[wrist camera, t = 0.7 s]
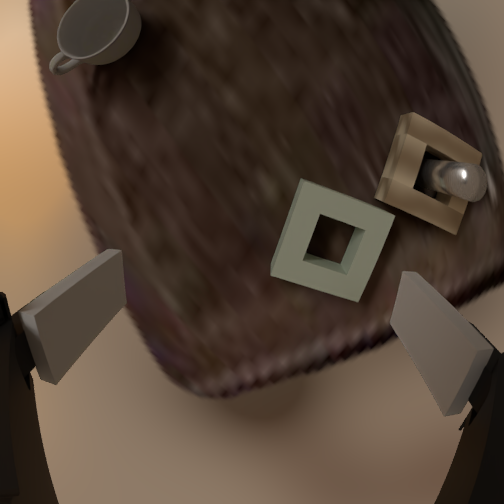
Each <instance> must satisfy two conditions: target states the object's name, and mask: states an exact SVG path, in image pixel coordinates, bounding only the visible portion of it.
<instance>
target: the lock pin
mask: <svg viewBox="0 0 504 504" xmlns="http://www.w3.org/2000/svg"><path fill="white" fill-rule="evenodd" d="M415 183H416V184H417V185H418V186H420V187H422V188H426V189H430V190H433V191H437V192H441V193H444V194H448V195H451V196H455V197H458V198H461V199H464V200H468V201H471V202H476V201H479V200H480V199H481V198H482V197H483V196H484V194H485V192H486V188H487V178H486V174H485V172H484V170H483V169H482V168H481V167H480V166H479V165H477V164H473V163H464V162H454V161H444V160H432V159H422V162H421V165H420V168H419V171H418V174H417V177H416V180H415Z"/></svg>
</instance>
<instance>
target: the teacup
mask: <svg viewBox="0 0 504 504" xmlns="http://www.w3.org/2000/svg"><path fill="white" fill-rule="evenodd" d="M140 31H141V17H140V14H139V12H138V10H137V8H136V7H135V6H134V5H133V3H132V2H131V1H130V0H76V1H75V2H74V3H73V4H72V5H71V6H70V8H69V9H68V10H67V11H66V13H65V14H64V16H63V17H62V19H61V22H60V24H59V27H58V32H57V41H58V45H59V48H60V50H61V52H60V53H58V54H57V55H55V56H54V57H53V59H52V60H51V62H50V65H49V68H50V71H51V72H52V73H53V74H55V75H62V74H65V73H67V72H69V71H70V70H72V69H74V68H75V67H76V66H78V65H79V64H82V63H84V62H85V63H88V64H93V65H104V64H108V63H111V62H114V61H116V60H118V59H119V58H121V57H122V56H124V55H125V54H126V53H127V52H128V51H129V50H130V49H131V48H132V47H133V46H134V44H135V43H136V41H137V39H138V37H139V34H140ZM68 58H71V59H72V60H71V61H69V62H68V63H66V64H64V65H62V66H59V67H57V66H58V65H59V64H60V63H61V62H62V61H63V60H65V59H68Z"/></svg>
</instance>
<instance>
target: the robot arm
mask: <svg viewBox="0 0 504 504" xmlns="http://www.w3.org/2000/svg"><path fill="white" fill-rule="evenodd" d="M126 303H127V302H126V293H125V284H124V273H123V261H122V250H115V249H107V250H106V251H104V252H103V253H101V254H99V255H98V256H96V257H95V258H94V259H92V260H90V261H89V262H87V263H86V264H85V265H83V266H81V267H80V268H78V269H77V270H75V271H74V272H72V273H71V274H70V275H68V276H67V277H65V278H64V279H62V280H61V281H59V282H58V283H57V284H55V285H54V286H52V287H51V288H50V289H48V290H47V291H45V292H43V293H42V294H40V295H39V296H37V297H36V299H33V300H32V301H31V302H30V303H29V304H27V305H25V306H24V307H23V308H21V309H20V310H18V311H17V312H16V313H15V314H13V315H12V316H11V313H10V310H9V306H8V302H7V298H6V294H4V293H3V292H0V504H59V503H58V500H57V497H56V494H55V490H54V487H53V484H52V480H51V477H50V473H49V469H48V465H47V461H46V457H45V452H44V448H43V443H42V438H41V433H40V427H39V421H38V415H37V409H36V401H35V393H34V384H33V378H32V376H31V373H30V371H31V370H32V369H33V368H34V367H35V366H36V369H37V372H38V374H39V377H40V379H41V380H44V381H46V382H49V383H52V384H54V385H57V384H58V382H59V381H60V380H61V378H62V377H63V376H64V375H65V374H66V372H67V371H68V370H69V369H70V367H71V366H72V365H73V364H74V363H75V362H76V360H77V359H78V358H79V357H80V356H81V354H82V353H83V352H84V351H85V350H86V348H87V347H88V346H89V345H90V344H91V343H92V341H93V340H94V339H95V338H96V337H97V336H98V334H99V333H100V332H101V331H102V330H103V329H104V328H105V326H106V325H107V324H108V323H109V322H110V321H111V320H112V318H113V317H114V316H115V315H116V314H117V313H118V312H119V311H120V309H121V308H122V307H123V306H124V305H125V304H126ZM390 324H391V326H392V327H393V329H394V331H395V332H396V334H397V335H398V337H399V339H400V340H401V342H402V344H403V345H404V347H405V348H406V350H407V352H408V353H409V355H410V357H411V358H412V360H413V362H414V364H415V365H416V367H417V369H418V370H419V372H420V374H421V376H422V377H423V379H424V381H425V383H426V384H427V386H428V388H429V390H430V391H431V393H432V395H433V397H434V399H435V400H436V402H437V404H438V406H439V408H440V410H441V411H442V413H443V415H444V416H450V415H455V414H459V413H461V412H462V410H463V408H464V407H465V405H466V403H467V401H468V400H469V402H470V403H471V405H472V409H471V411H470V412H469V414H468V415H467V417H466V418H465V420H464V422H463V424H462V425H461V426H460V428H459V430H462V428H463V427H464V429H463V433H462V436H461V439H460V442H459V445H458V448H457V450H456V453H455V456H454V459H453V462H452V464H451V467H450V469H449V472H448V474H447V477H446V479H445V481H444V484H443V486H442V488H441V491H440V493H439V495H438V497H437V499H436V501H435V503H434V504H504V352H503V353H502V354H501V353H500V352H499V351H498V350H497V349H496V348H495V347H494V346H493V345H492V344H491V343H490V341H489V340H488V339H487V338H485V336H484V335H483V334H482V333H480V331H479V330H478V329H477V328H476V327H475V326H474V325H473V324H472V323H470V322H468V321H467V320H466V319H465V318H464V317H463V316H462V315H461V314H460V313H459V312H458V311H457V310H456V309H455V308H454V307H453V306H452V305H451V304H450V303H449V302H448V301H447V300H446V299H445V298H444V297H443V296H442V295H440V294H439V293H438V292H437V291H436V290H435V289H434V288H433V287H432V286H431V285H430V284H429V283H428V282H427V281H425V280H424V279H423V278H422V277H421V276H420V275H419V274H418V273H417V272H407V271H403V272H402V276H401V281H400V285H399V289H398V294H397V298H396V302H395V305H394V309H393V313H392V317H391V320H390Z"/></svg>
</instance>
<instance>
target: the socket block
mask: <svg viewBox="0 0 504 504" xmlns="http://www.w3.org/2000/svg"><path fill="white" fill-rule="evenodd" d="M320 214H322V215H325V216H328V217H331V218H333V219H336V220H339V221H342V222H344V223H347V224H350V225H352V226H355V230H354V232H353V235H352V237H351V240H350V242H349V245H348V247H347V250H346V252H345V255H344V257H343V259H342V262H341V264H338V263H335V262H332V261H329V260H326V259H323V258H320V257H317V256H314V255H311V254H308V253H306V250H307V247H308V245H309V242H310V239H311V237H312V234H313V231H314V229H315V226H316V223H317V221H318V218H319V215H320ZM394 218H395V215H393V214H391V213H389V212H387V211H385V210H383V209H380V208H378V207H376V206H373V205H371V204H368V203H366V202H363V201H361V200H358V199H356V198H353V197H351V196H348V195H345V194H343V193H340V192H337V191H335V190H332V189H329V188H327V187H324V186H321V185H319V184H316V183H313V182H310V181H307V180H305V179H302V178H301V179H300V182H299V185H298V188H297V191H296V194H295V197H294V200H293V203H292V205H291V208H290V211H289V214H288V217H287V220H286V223H285V225H284V228H283V231H282V234H281V237H280V240H279V242H278V245H277V248H276V251H275V254H274V257H273V259H272V262H271V276H274V277H278V278H281V279H284V280H287V281H290V282H294V283H297V284H300V285H303V286H306V287H310V288H313V289H316V290H319V291H323V292H326V293H329V294H332V295H336V296H339V297H342V298H346V299H349V300H352V301H356V302H358V301H359V299H360V297H361V295H362V293H363V291H364V289H365V286H366V284H367V282H368V280H369V278H370V275H371V273H372V271H373V269H374V266H375V264H376V262H377V259H378V257H379V255H380V252H381V250H382V248H383V245H384V243H385V240H386V238H387V235H388V233H389V230H390V228H391V225H392V223H393V220H394Z"/></svg>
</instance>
